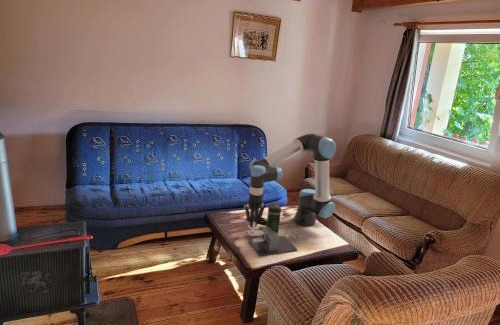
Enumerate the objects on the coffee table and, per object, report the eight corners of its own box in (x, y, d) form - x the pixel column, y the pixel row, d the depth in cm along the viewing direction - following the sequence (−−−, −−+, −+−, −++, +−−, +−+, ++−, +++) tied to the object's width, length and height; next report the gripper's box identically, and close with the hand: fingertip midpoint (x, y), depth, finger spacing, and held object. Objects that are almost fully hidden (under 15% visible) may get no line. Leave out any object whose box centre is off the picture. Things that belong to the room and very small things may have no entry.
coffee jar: (279, 235, 224) (282, 208, 219) (266, 234, 223) (269, 207, 218) (277, 228, 233) (280, 202, 228) (265, 227, 233) (267, 201, 227)
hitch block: (283, 237, 222) (285, 220, 219) (297, 250, 208) (299, 233, 204) (248, 241, 213) (250, 224, 210) (259, 256, 198) (261, 238, 195)
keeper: (262, 231, 208) (262, 228, 208) (266, 236, 203) (266, 233, 202) (246, 231, 204) (247, 229, 204) (251, 236, 199) (251, 234, 198)
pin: (273, 240, 213) (274, 231, 211) (278, 245, 208) (279, 235, 206) (250, 243, 207) (251, 234, 206) (254, 248, 202) (255, 239, 200)
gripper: (263, 189, 201) (260, 227, 208) (242, 191, 196) (239, 230, 202) (269, 194, 194) (265, 233, 201) (247, 196, 189) (244, 236, 196)
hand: (252, 231), depth 202 cm, fingers closed
